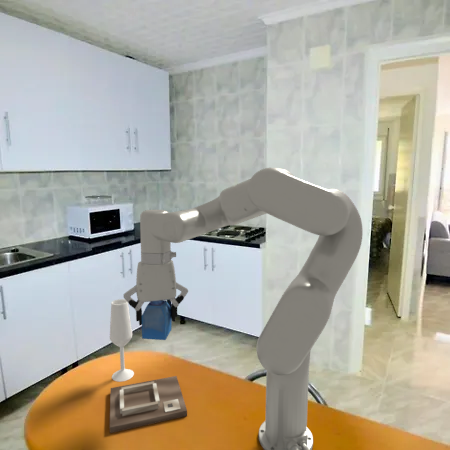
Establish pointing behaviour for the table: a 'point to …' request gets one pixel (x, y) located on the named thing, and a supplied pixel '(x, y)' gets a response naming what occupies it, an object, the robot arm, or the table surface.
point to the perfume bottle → (156, 320)
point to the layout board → (145, 403)
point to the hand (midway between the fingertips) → (156, 321)
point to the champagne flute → (121, 335)
